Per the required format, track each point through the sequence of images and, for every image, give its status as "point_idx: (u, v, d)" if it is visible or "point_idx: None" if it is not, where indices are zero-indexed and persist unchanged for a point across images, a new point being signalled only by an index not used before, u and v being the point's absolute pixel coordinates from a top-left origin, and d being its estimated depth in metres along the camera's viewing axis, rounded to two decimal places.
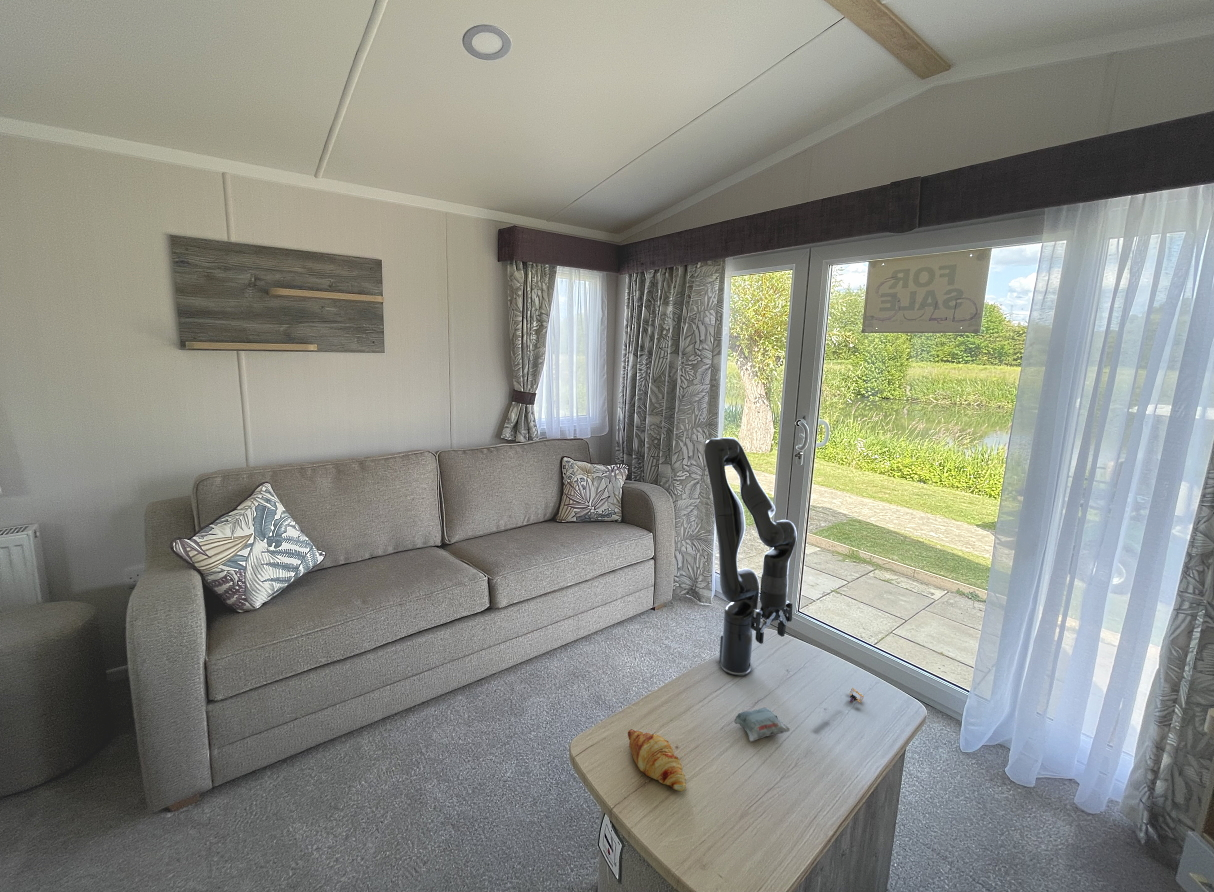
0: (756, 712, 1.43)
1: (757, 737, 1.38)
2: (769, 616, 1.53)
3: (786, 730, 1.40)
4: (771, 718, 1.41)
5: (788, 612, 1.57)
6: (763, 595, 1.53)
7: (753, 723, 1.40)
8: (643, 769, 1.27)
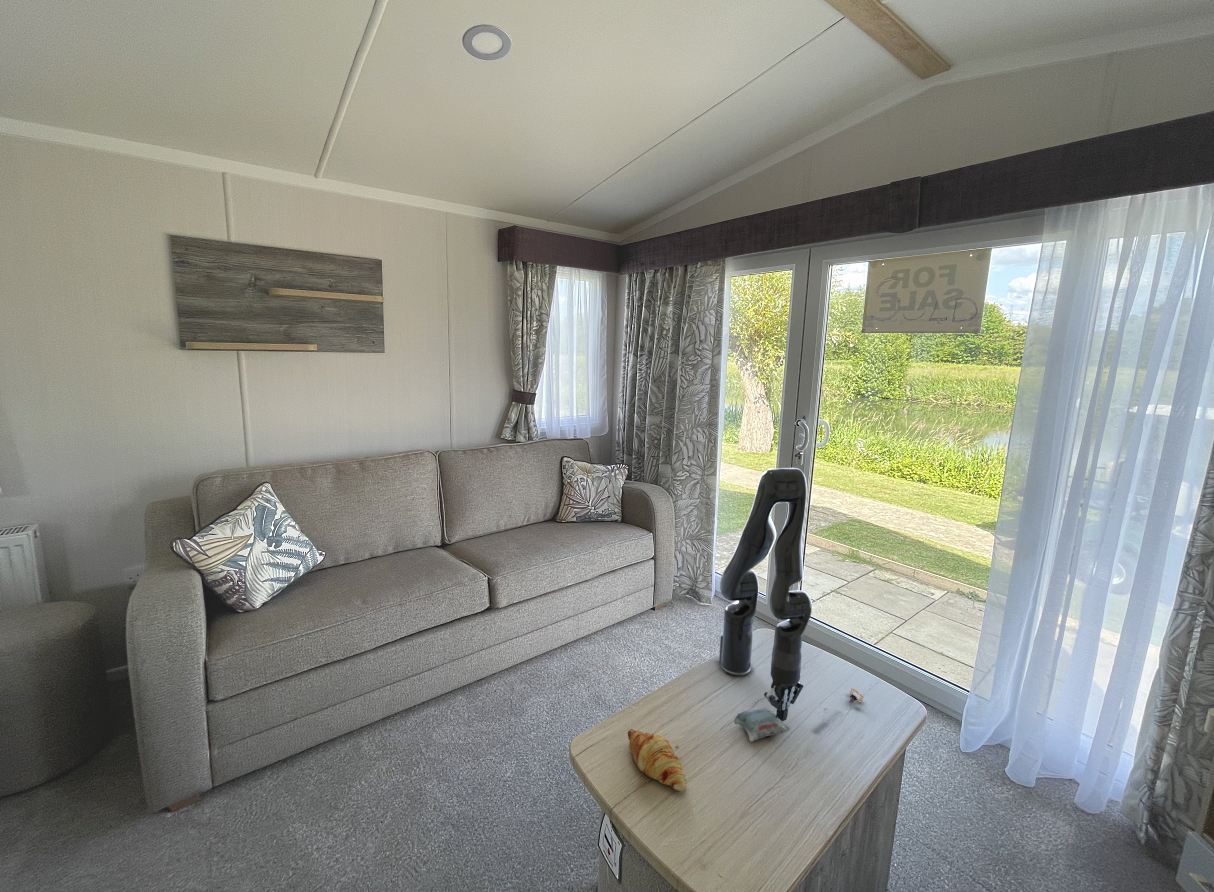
0: (756, 712, 1.43)
1: (757, 737, 1.38)
2: (783, 694, 1.42)
3: (786, 730, 1.40)
4: (770, 718, 1.41)
5: (795, 692, 1.45)
6: (775, 670, 1.41)
7: (753, 723, 1.40)
8: (643, 769, 1.27)
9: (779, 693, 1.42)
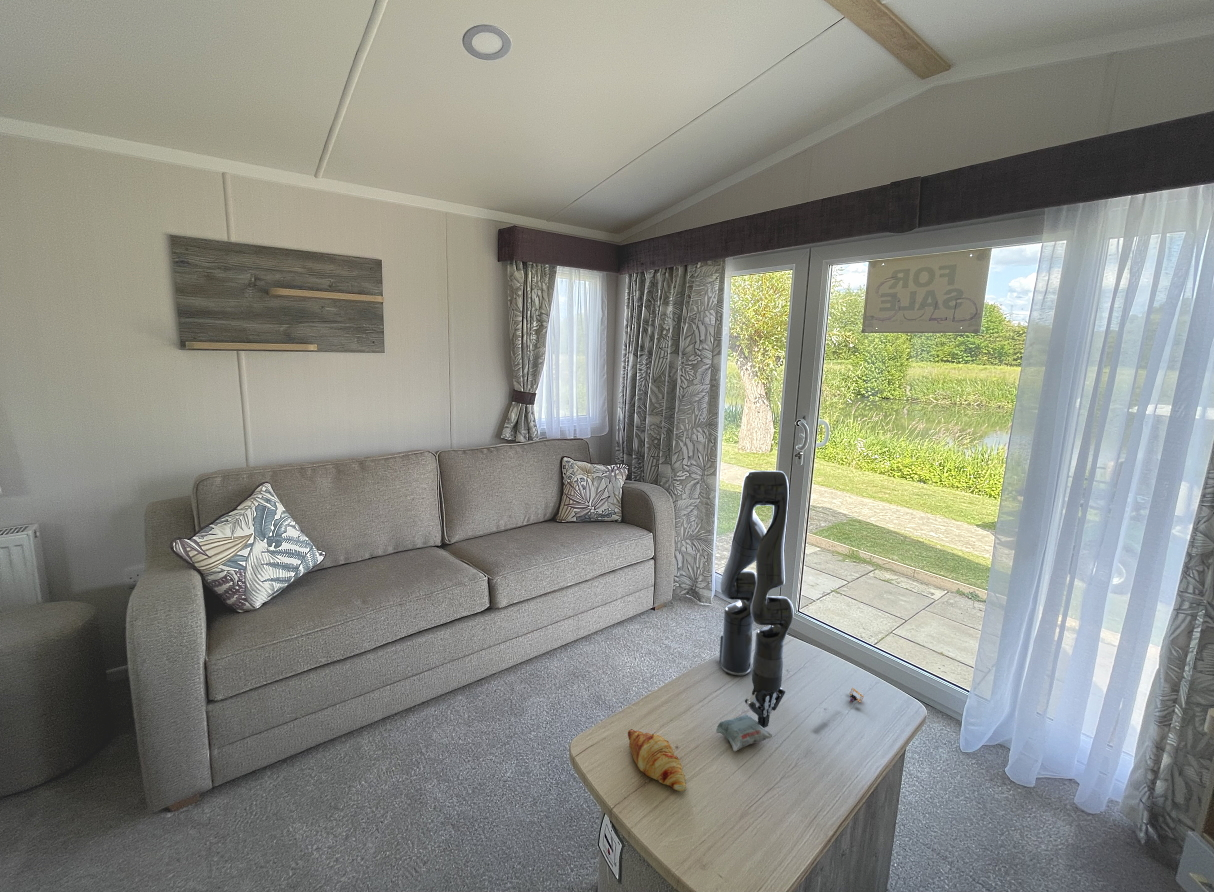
0: (738, 720, 1.40)
1: (740, 746, 1.35)
2: (764, 701, 1.39)
3: (768, 737, 1.38)
4: (753, 725, 1.38)
5: (777, 699, 1.42)
6: (755, 677, 1.38)
7: (735, 732, 1.36)
8: (643, 769, 1.27)
9: (760, 700, 1.39)
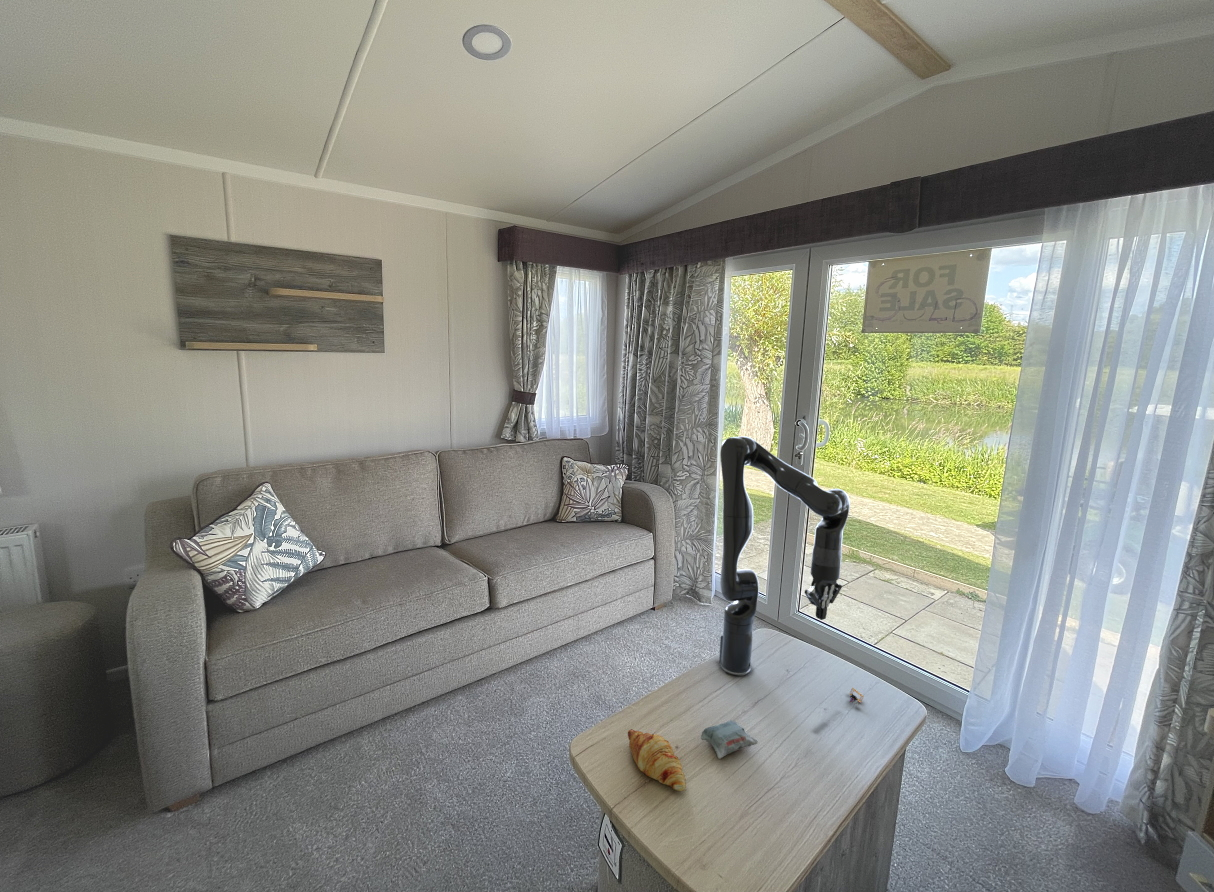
0: (723, 726, 1.37)
1: (725, 753, 1.32)
2: (823, 592, 1.46)
3: (754, 743, 1.35)
4: (738, 732, 1.36)
5: (834, 592, 1.49)
6: (815, 568, 1.45)
7: (720, 739, 1.34)
8: (643, 769, 1.27)
9: (819, 590, 1.46)
